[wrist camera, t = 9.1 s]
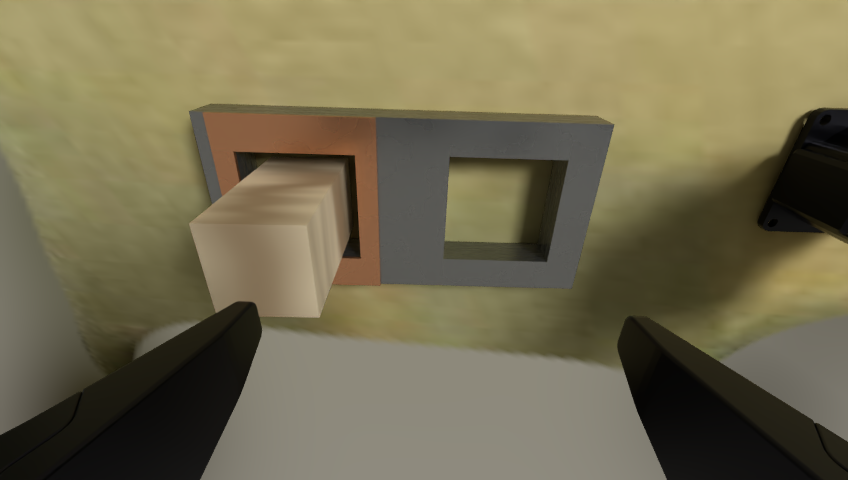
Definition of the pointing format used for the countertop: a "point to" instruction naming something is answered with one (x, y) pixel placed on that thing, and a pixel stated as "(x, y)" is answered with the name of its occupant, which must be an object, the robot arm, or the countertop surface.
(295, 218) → the beech peg
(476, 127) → the grey board
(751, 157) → the countertop surface
